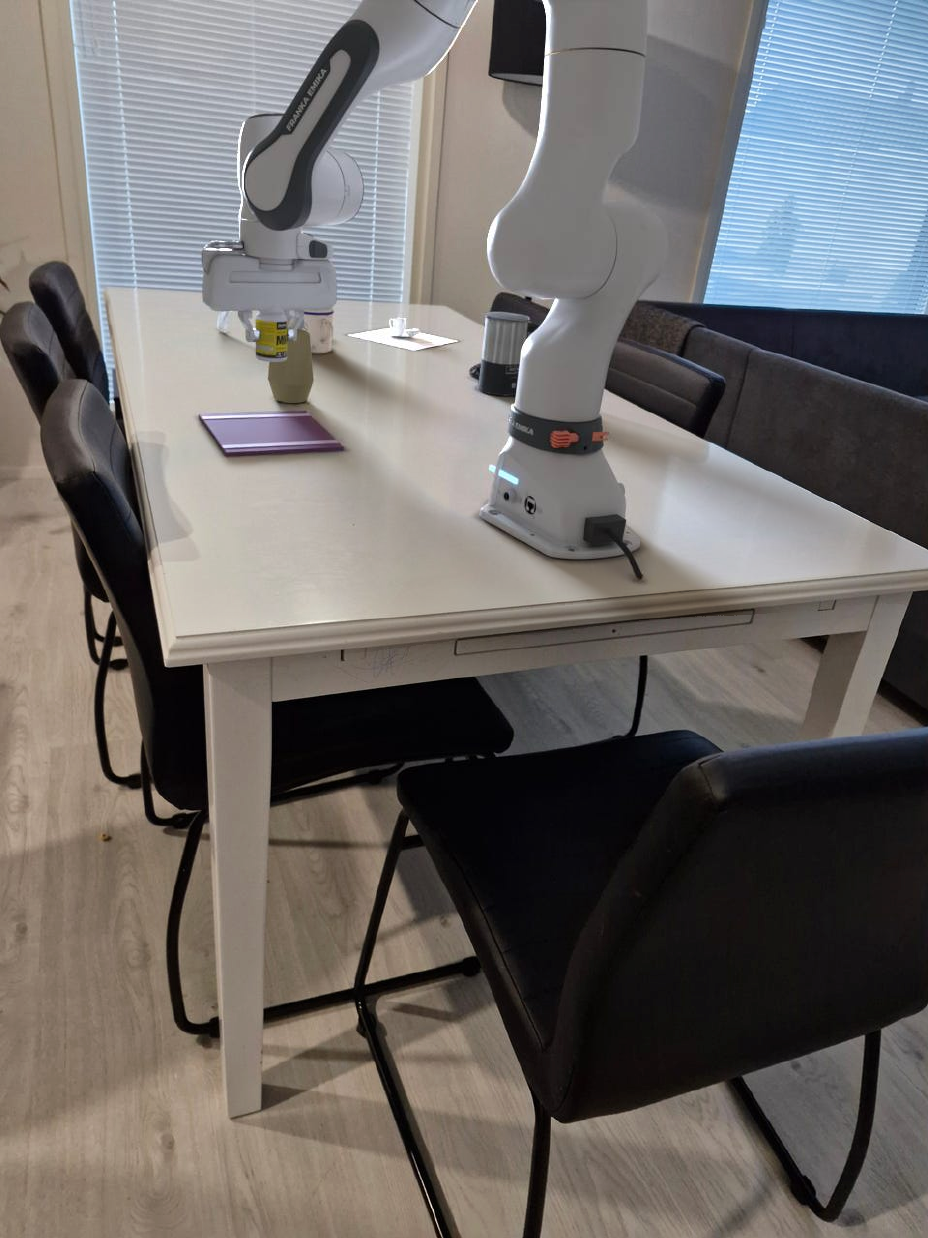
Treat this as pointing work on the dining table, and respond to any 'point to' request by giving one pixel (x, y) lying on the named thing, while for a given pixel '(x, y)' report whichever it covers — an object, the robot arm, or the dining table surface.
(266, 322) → the supplement bottle
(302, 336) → the squeeze bottle
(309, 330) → the teacup with lid
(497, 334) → the milk frother
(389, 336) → the teacup and saucer
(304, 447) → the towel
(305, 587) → the dining table surface
